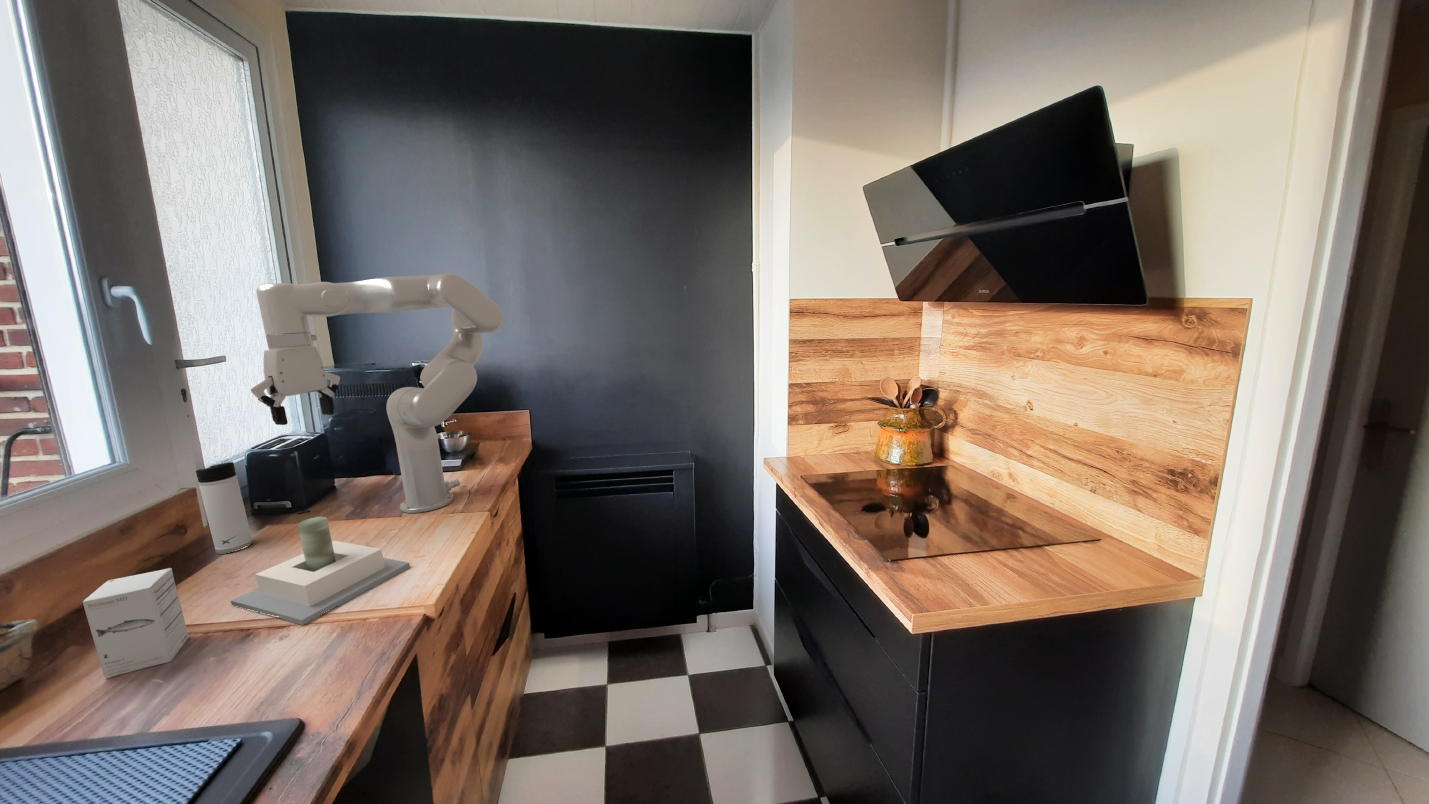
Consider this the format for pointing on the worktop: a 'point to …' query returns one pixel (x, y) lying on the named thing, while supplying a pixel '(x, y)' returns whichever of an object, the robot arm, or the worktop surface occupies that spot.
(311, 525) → the peg
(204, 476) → the travel mug
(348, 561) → the socket block
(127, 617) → the supplement box
